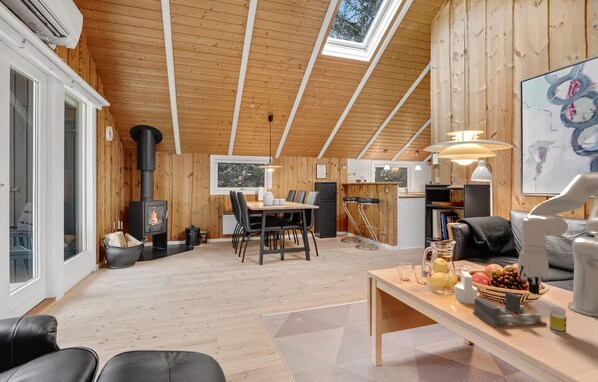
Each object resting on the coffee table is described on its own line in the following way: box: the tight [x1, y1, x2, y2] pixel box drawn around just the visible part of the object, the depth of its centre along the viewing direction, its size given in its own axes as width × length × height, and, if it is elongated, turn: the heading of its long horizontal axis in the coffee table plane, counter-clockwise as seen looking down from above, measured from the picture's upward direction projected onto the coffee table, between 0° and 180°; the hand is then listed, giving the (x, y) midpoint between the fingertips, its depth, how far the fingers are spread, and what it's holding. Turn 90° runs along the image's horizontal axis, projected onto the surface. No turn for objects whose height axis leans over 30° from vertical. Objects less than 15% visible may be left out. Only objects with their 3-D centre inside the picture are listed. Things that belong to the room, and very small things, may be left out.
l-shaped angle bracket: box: [500, 291, 521, 317], centre depth 119 cm, size 8×9×9 cm
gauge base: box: [472, 298, 547, 328], centre depth 121 cm, size 22×12×7 cm, turn 97°
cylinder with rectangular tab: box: [454, 270, 478, 305], centre depth 141 cm, size 9×9×12 cm
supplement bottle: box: [548, 306, 568, 335], centre depth 112 cm, size 5×5×8 cm
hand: (533, 293), depth 123 cm, fingers closed
